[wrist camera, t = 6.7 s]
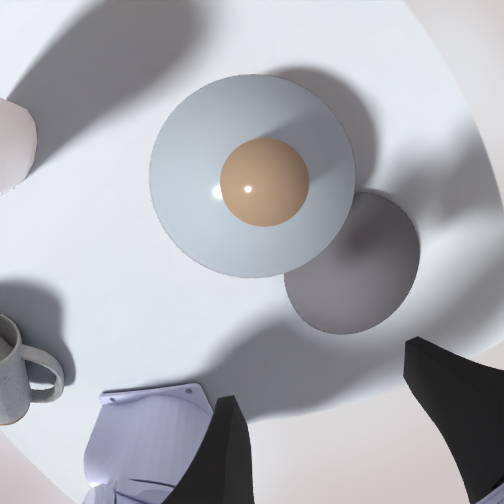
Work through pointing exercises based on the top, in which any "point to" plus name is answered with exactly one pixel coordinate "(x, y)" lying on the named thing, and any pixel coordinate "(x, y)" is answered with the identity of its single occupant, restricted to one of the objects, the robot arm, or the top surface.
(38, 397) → the ceramic mug
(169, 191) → the lid
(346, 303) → the mat
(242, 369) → the top surface
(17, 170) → the foam cup
